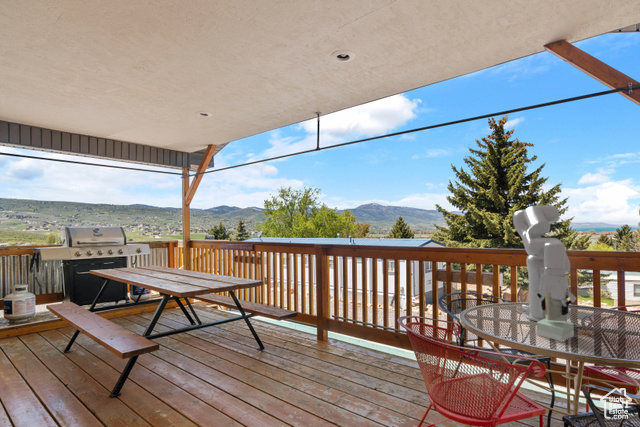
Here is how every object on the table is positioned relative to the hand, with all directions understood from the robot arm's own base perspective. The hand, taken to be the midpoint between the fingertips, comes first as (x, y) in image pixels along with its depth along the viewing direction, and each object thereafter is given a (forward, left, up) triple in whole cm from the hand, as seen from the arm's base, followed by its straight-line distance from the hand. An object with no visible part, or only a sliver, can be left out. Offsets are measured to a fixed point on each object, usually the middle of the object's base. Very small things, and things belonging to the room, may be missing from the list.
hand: (554, 311), depth 153 cm
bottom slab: (0, 0, -11) cm, 11 cm away
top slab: (0, 0, -8) cm, 8 cm away
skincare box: (0, 0, -3) cm, 3 cm away
